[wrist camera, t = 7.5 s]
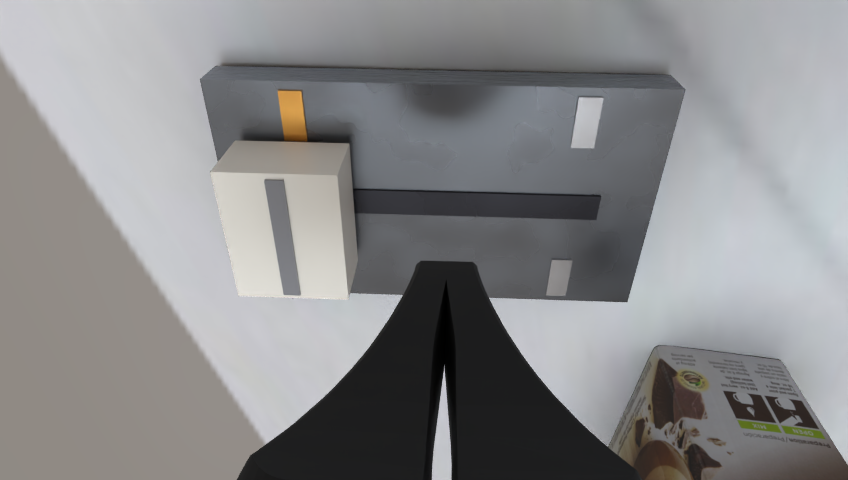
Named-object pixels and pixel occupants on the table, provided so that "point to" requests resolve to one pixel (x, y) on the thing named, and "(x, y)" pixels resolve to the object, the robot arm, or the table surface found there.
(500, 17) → the table surface
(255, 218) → the fader knob
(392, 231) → the fader panel
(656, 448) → the coffee box
